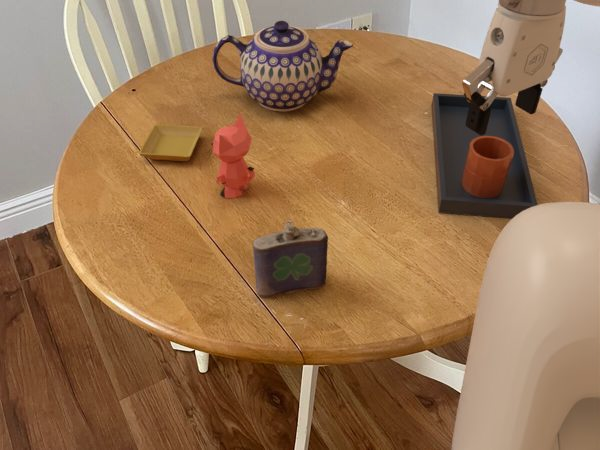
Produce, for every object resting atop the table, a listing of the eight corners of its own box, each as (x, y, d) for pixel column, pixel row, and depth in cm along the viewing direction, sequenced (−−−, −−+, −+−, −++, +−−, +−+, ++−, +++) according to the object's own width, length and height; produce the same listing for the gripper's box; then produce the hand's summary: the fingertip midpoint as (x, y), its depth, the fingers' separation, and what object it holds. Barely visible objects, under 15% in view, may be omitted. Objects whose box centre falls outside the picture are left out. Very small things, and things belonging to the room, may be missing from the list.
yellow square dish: (140, 163, 95) (137, 153, 94) (156, 133, 101) (154, 123, 100) (191, 167, 94) (190, 157, 93) (205, 136, 101) (203, 126, 99)
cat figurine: (229, 170, 94) (221, 106, 85) (267, 181, 92) (263, 116, 83) (206, 197, 89) (195, 131, 81) (245, 209, 87) (239, 142, 79)
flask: (258, 300, 74) (253, 240, 67) (254, 283, 76) (249, 223, 69) (328, 287, 76) (331, 227, 68) (322, 271, 78) (324, 211, 70)
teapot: (209, 116, 105) (199, 39, 95) (224, 75, 116) (216, 1, 106) (348, 122, 103) (353, 44, 93) (351, 80, 114) (355, 5, 104)
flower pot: (511, 189, 89) (523, 151, 84) (482, 203, 87) (492, 166, 82) (481, 168, 93) (491, 131, 88) (452, 181, 90) (460, 144, 86)
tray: (533, 220, 85) (538, 206, 83) (438, 212, 86) (441, 199, 84) (507, 110, 106) (510, 97, 104) (431, 105, 107) (433, 93, 106)
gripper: (505, 23, 64) (475, 152, 75) (606, -10, 71) (564, 113, 82) (457, 1, 68) (435, 126, 80) (555, -28, 75) (522, 91, 87)
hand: (500, 119), depth 81 cm, fingers open, 9 cm apart
